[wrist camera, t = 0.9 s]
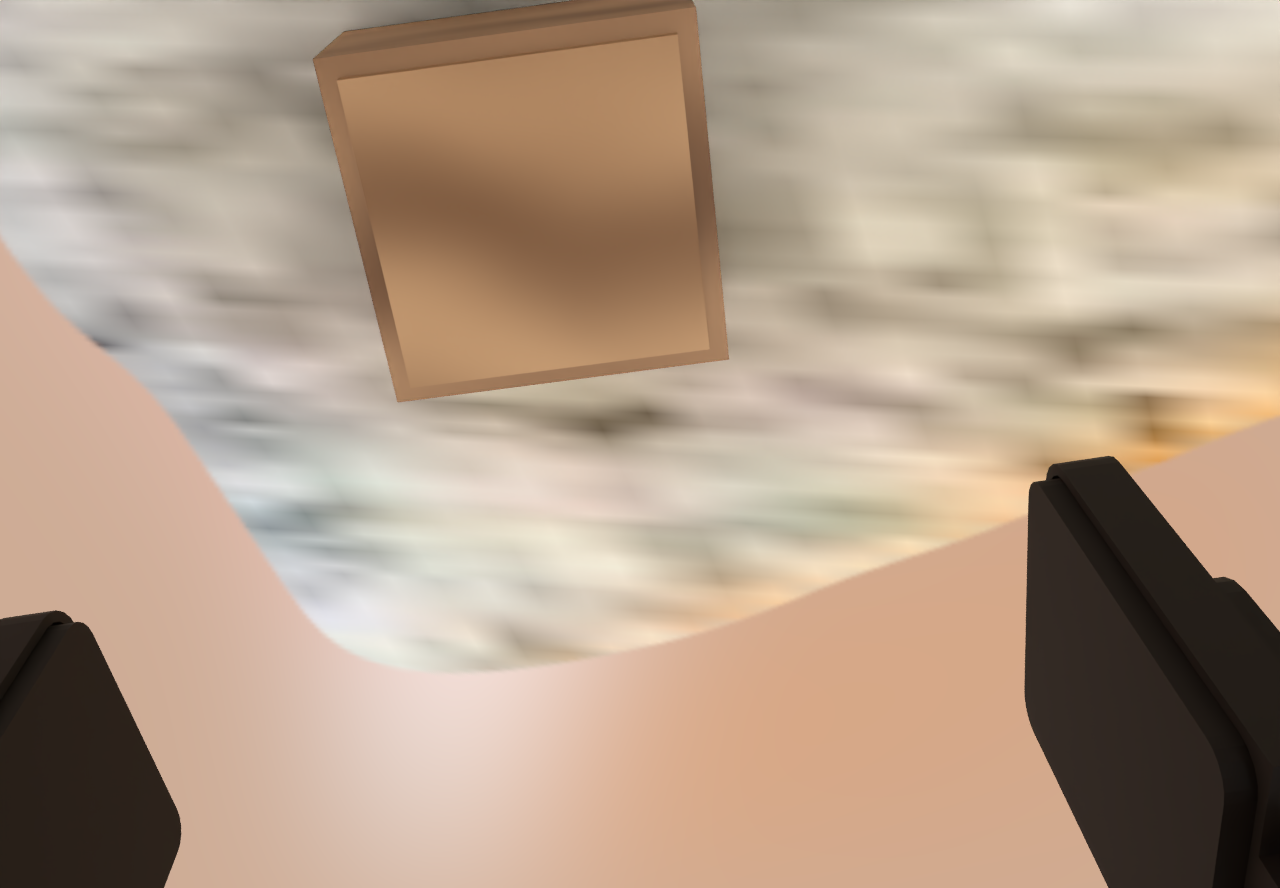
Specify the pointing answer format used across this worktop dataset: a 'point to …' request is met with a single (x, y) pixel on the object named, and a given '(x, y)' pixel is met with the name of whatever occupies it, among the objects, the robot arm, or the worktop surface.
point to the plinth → (530, 192)
